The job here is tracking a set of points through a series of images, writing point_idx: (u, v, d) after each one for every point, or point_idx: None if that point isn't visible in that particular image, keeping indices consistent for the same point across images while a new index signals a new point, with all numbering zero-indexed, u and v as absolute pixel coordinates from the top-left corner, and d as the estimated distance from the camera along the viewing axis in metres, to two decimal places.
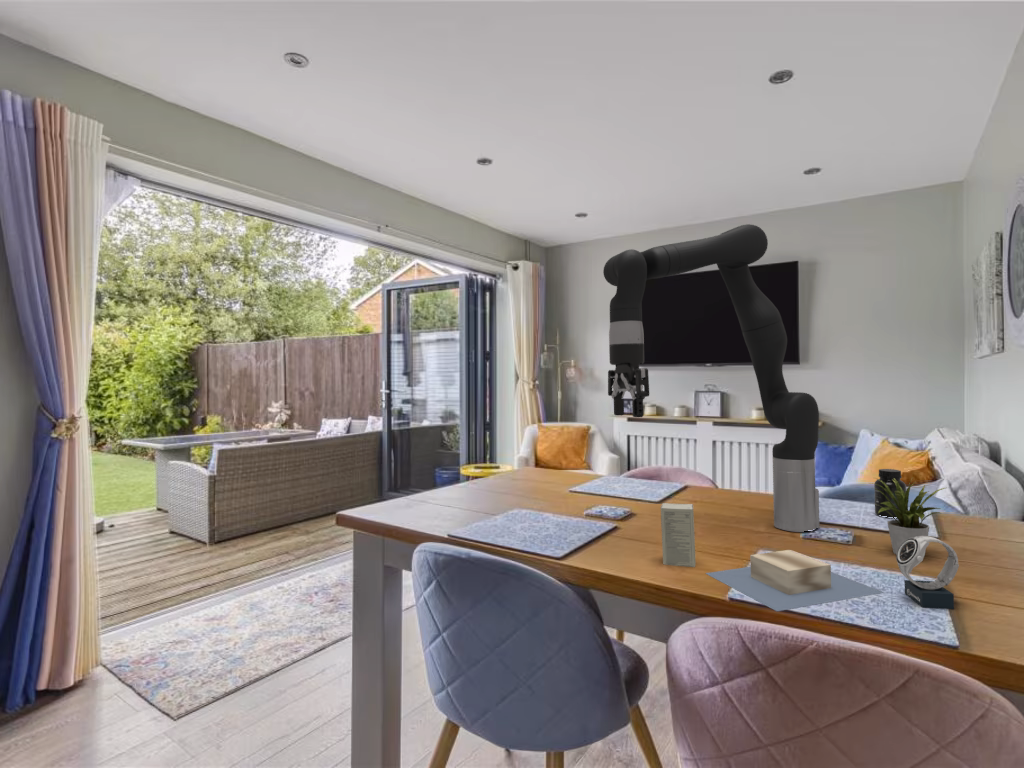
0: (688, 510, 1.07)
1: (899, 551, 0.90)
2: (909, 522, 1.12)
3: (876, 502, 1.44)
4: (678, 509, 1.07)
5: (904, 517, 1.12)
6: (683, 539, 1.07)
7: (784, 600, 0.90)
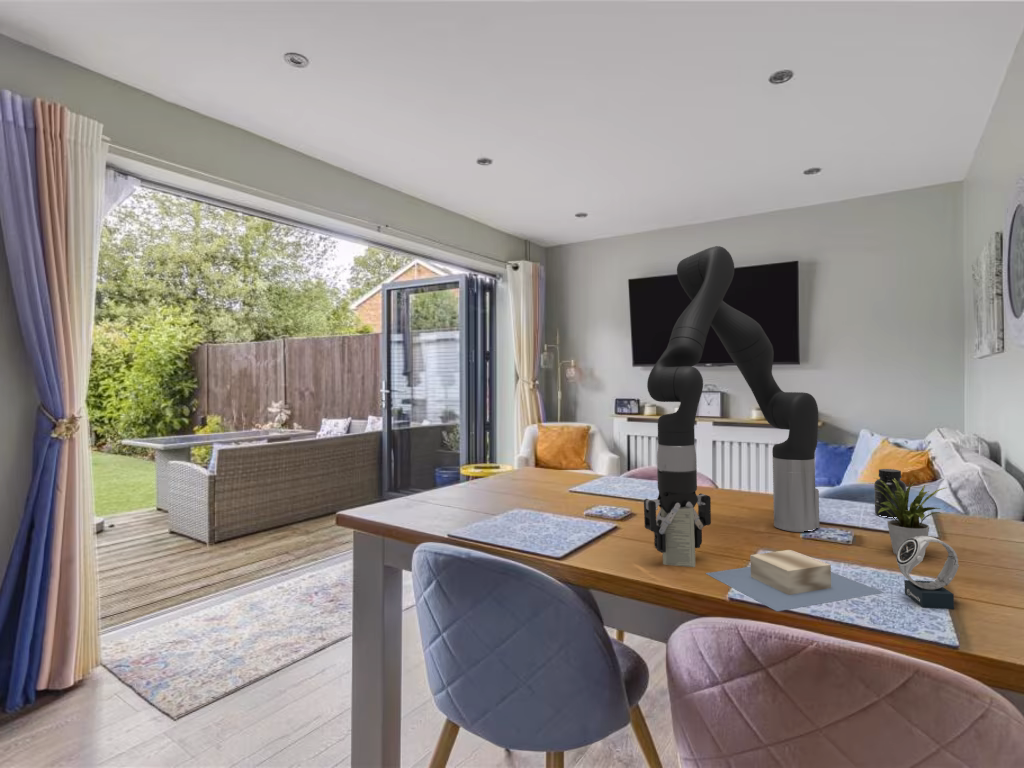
0: (688, 510, 1.07)
1: (899, 551, 0.90)
2: (909, 522, 1.12)
3: (876, 502, 1.44)
4: (678, 509, 1.07)
5: (904, 517, 1.12)
6: (683, 539, 1.07)
7: (784, 600, 0.90)
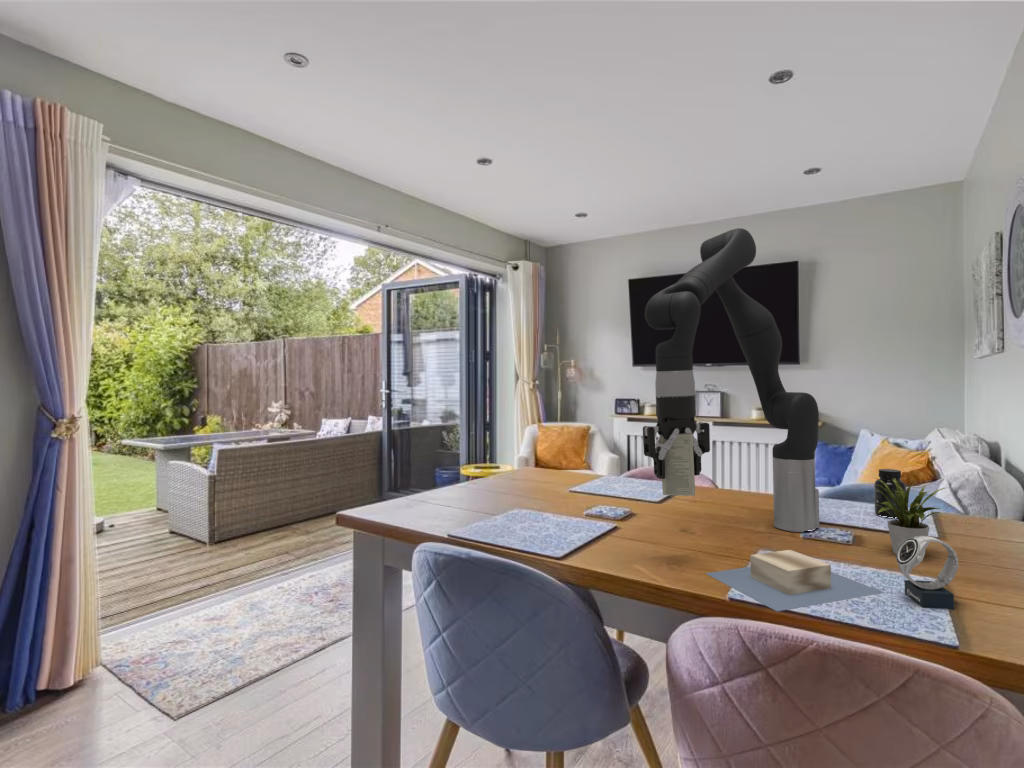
0: (687, 435, 1.06)
1: (899, 551, 0.90)
2: (909, 522, 1.12)
3: (876, 502, 1.44)
4: (677, 435, 1.07)
5: (904, 517, 1.12)
6: (682, 465, 1.07)
7: (784, 600, 0.90)
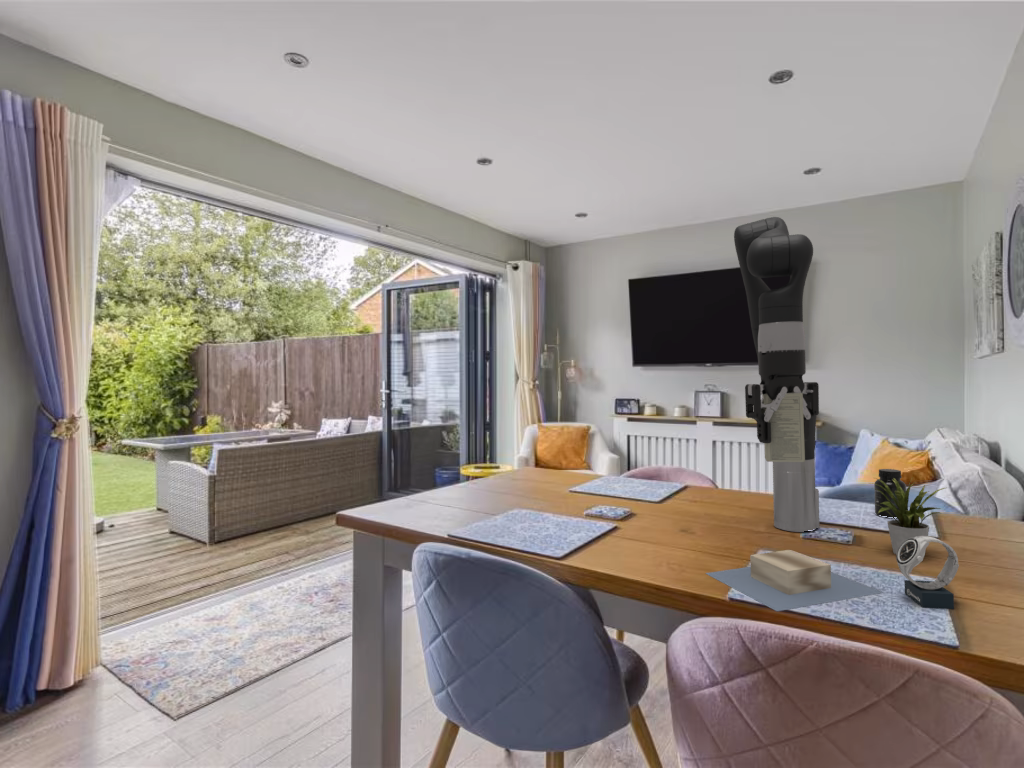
0: (797, 394, 0.95)
1: (899, 551, 0.90)
2: (909, 522, 1.12)
3: (876, 502, 1.44)
4: (785, 394, 0.96)
5: (904, 517, 1.12)
6: (791, 427, 0.95)
7: (784, 600, 0.90)
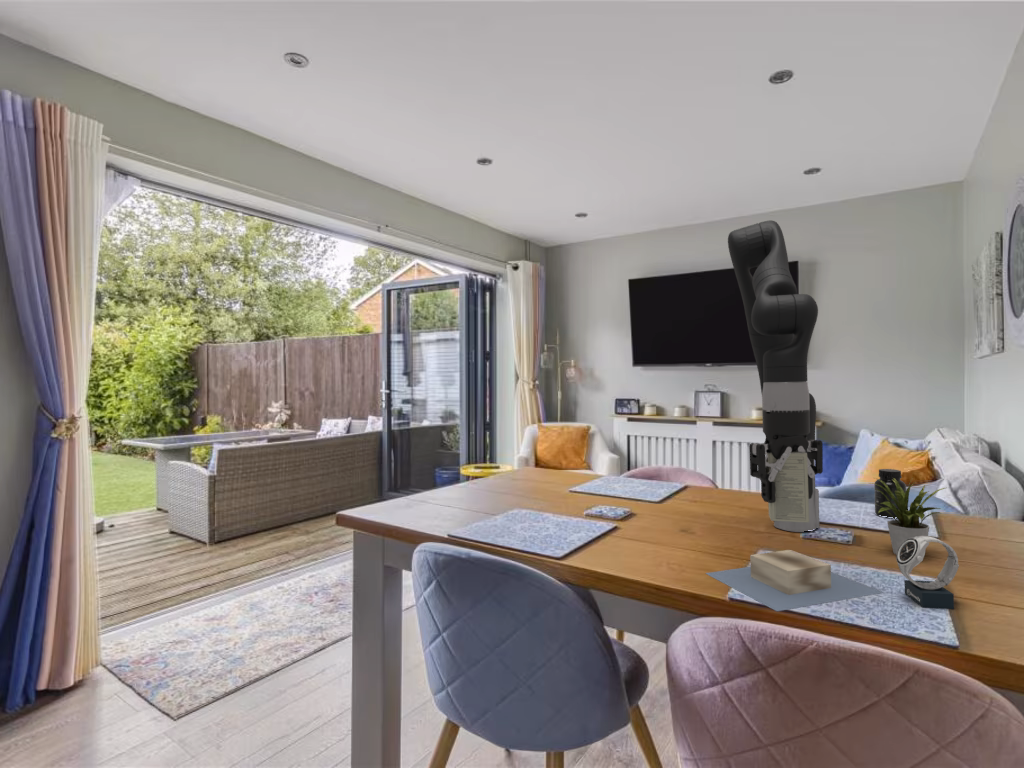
0: (802, 454, 0.95)
1: (899, 551, 0.90)
2: (909, 522, 1.12)
3: (876, 502, 1.44)
4: (790, 454, 0.95)
5: (904, 517, 1.12)
6: (795, 487, 0.95)
7: (784, 600, 0.90)
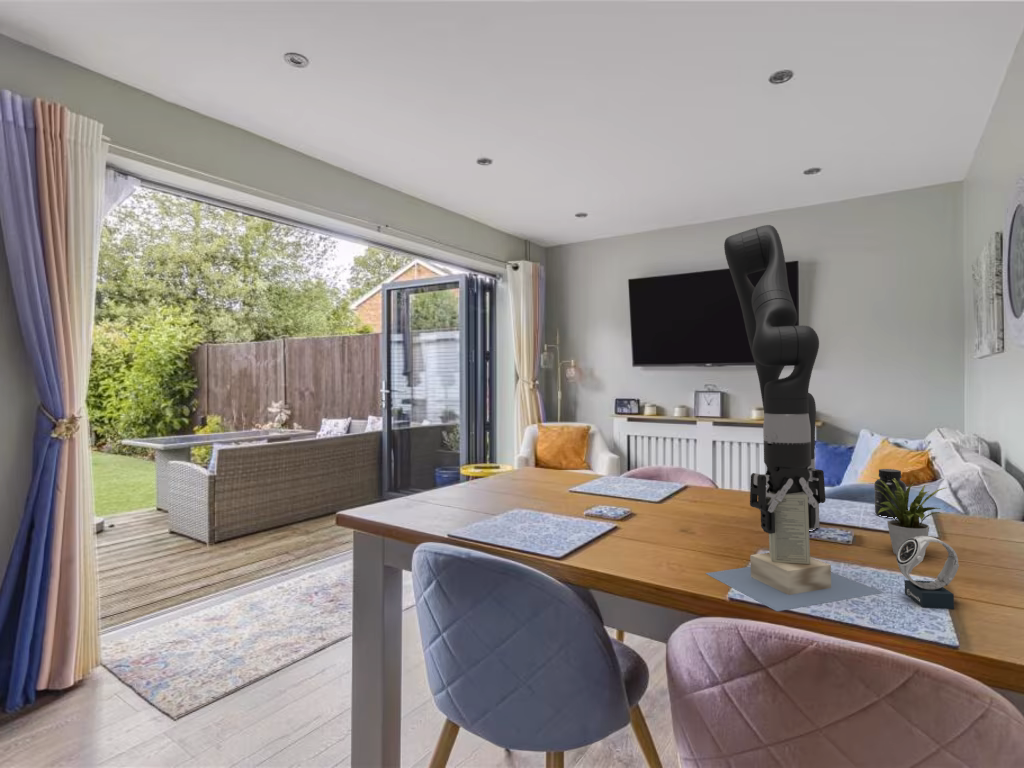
0: (802, 496, 0.95)
1: (899, 551, 0.90)
2: (909, 522, 1.12)
3: (876, 502, 1.44)
4: (790, 495, 0.95)
5: (904, 517, 1.12)
6: (796, 529, 0.95)
7: (784, 600, 0.90)
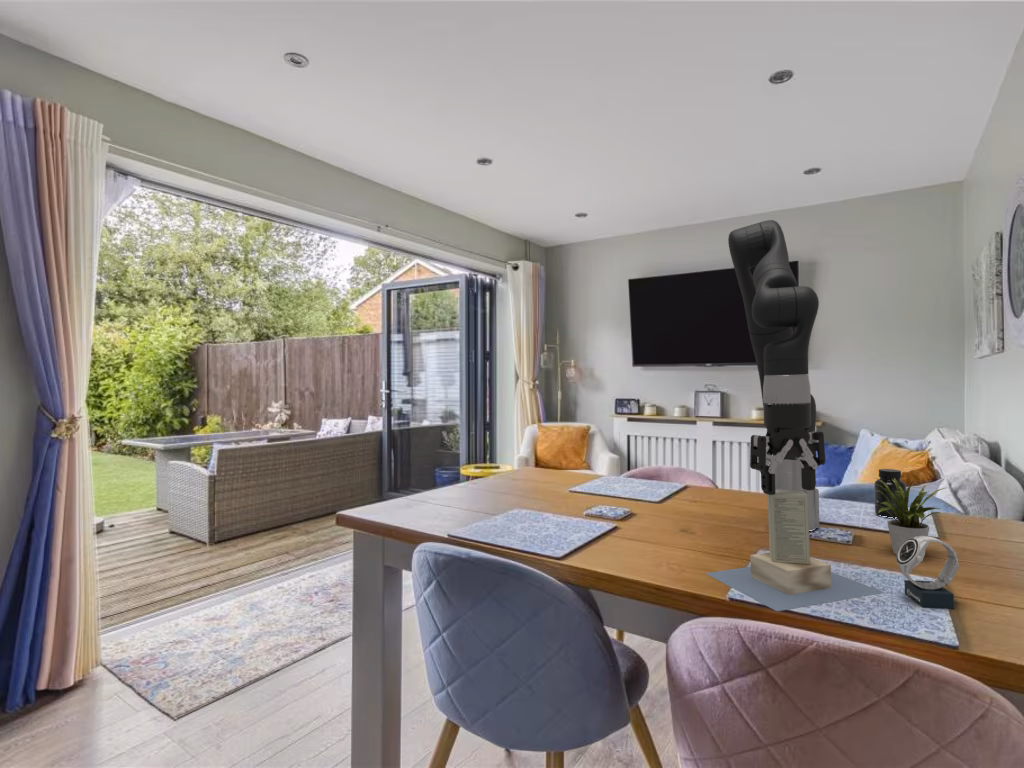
0: (802, 496, 0.95)
1: (899, 551, 0.90)
2: (909, 522, 1.12)
3: (876, 502, 1.44)
4: (790, 495, 0.95)
5: (904, 517, 1.12)
6: (796, 529, 0.95)
7: (784, 600, 0.90)
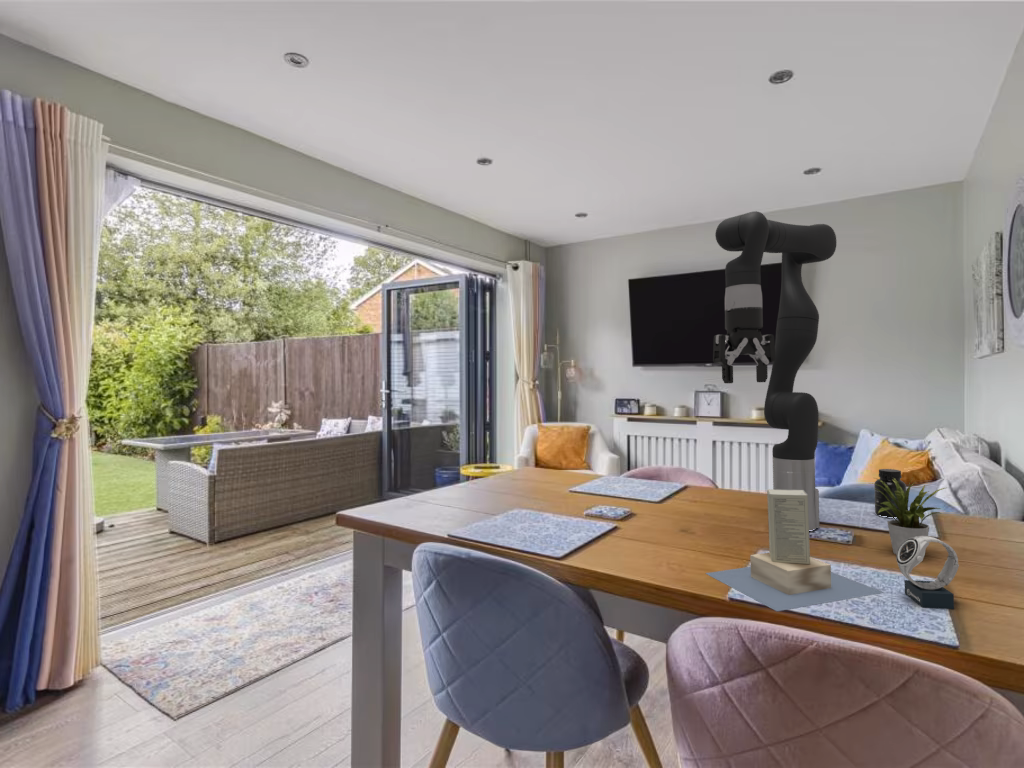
0: (802, 496, 0.95)
1: (899, 551, 0.90)
2: (909, 522, 1.12)
3: (876, 502, 1.44)
4: (790, 495, 0.95)
5: (904, 517, 1.12)
6: (796, 529, 0.95)
7: (784, 600, 0.90)
